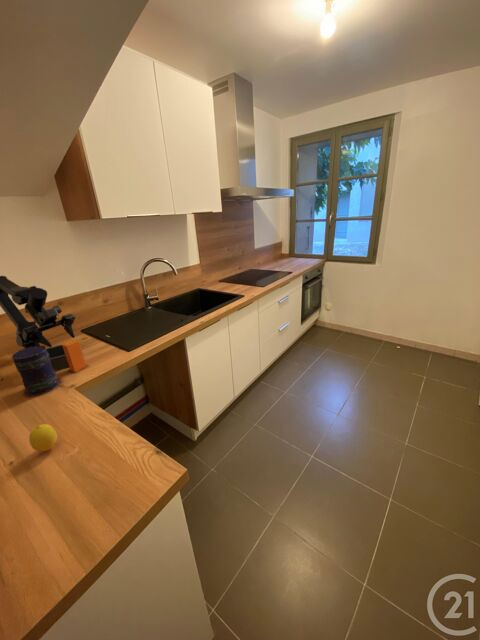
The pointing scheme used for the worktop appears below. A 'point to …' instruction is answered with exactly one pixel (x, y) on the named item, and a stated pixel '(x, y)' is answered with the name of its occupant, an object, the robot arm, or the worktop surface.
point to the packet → (74, 355)
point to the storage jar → (35, 370)
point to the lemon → (42, 437)
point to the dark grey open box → (57, 357)
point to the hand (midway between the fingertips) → (63, 341)
